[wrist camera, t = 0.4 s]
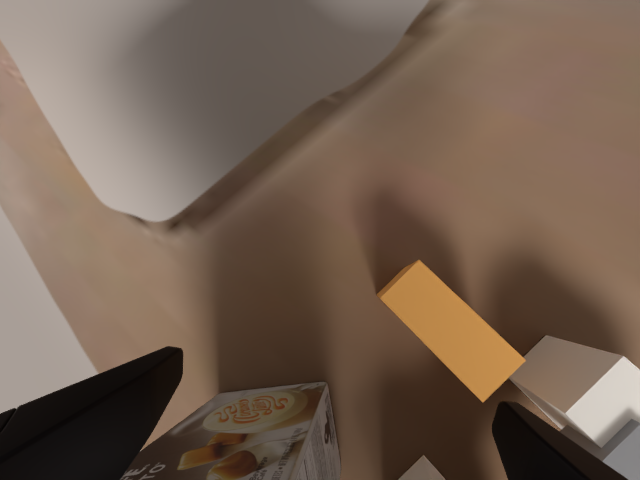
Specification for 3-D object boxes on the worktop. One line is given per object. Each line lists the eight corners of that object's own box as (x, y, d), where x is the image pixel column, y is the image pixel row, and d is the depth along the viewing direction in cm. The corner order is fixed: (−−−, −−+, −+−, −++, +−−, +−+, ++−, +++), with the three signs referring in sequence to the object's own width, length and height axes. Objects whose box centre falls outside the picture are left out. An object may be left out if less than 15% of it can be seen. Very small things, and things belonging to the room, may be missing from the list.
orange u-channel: (476, 337, 22) (526, 360, 15) (446, 365, 22) (482, 402, 15) (403, 267, 23) (419, 259, 16) (376, 294, 23) (380, 298, 16)
